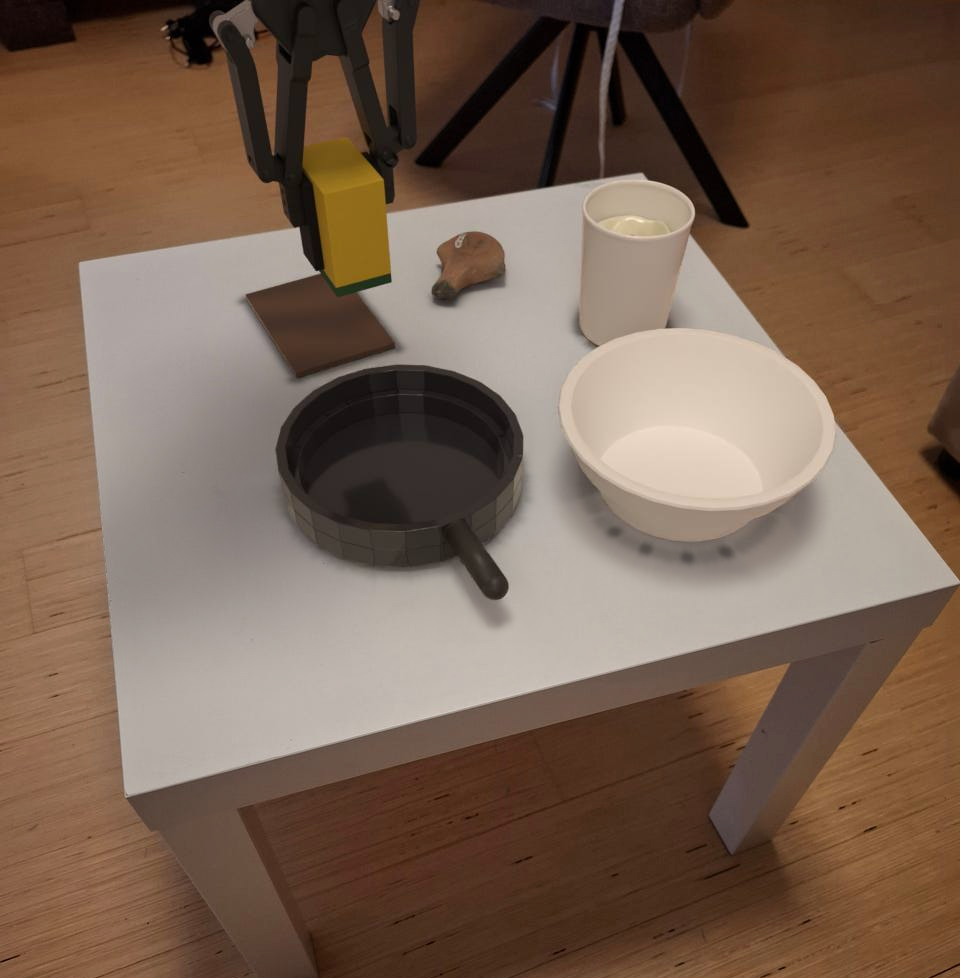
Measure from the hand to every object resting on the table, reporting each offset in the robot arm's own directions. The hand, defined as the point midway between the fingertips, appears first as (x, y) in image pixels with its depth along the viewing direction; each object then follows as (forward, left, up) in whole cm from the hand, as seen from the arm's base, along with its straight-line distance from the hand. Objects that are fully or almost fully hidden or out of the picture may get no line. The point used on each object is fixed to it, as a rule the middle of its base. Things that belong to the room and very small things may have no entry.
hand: (345, 252), depth 72 cm
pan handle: (+24, -1, -12) cm, 27 cm away
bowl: (+22, +19, -15) cm, 32 cm away
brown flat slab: (-13, +1, -15) cm, 20 cm away
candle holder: (+1, +27, -15) cm, 31 cm away
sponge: (0, 0, -1) cm, 1 cm away
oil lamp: (-13, +17, -15) cm, 26 cm away
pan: (+11, -1, -15) cm, 18 cm away
